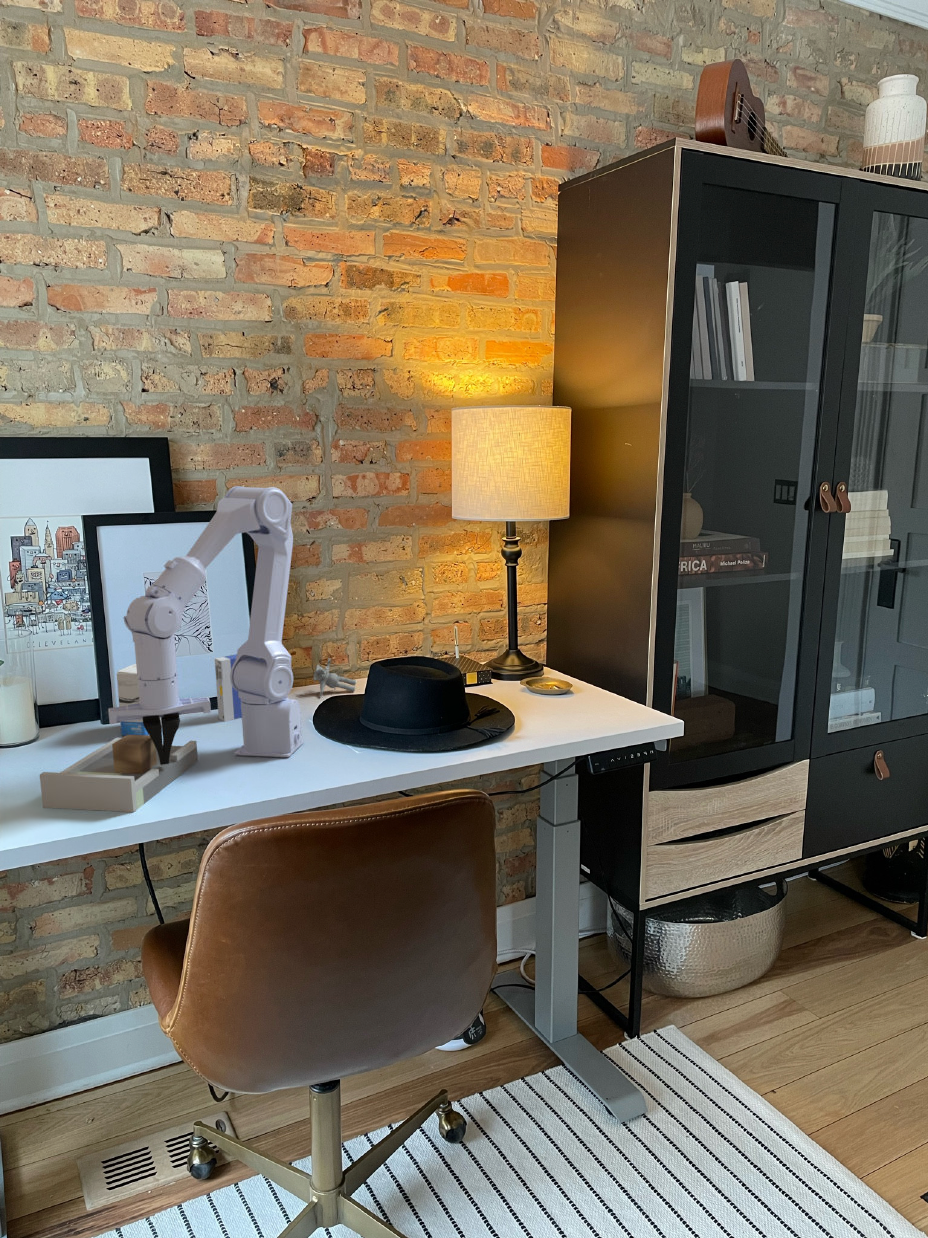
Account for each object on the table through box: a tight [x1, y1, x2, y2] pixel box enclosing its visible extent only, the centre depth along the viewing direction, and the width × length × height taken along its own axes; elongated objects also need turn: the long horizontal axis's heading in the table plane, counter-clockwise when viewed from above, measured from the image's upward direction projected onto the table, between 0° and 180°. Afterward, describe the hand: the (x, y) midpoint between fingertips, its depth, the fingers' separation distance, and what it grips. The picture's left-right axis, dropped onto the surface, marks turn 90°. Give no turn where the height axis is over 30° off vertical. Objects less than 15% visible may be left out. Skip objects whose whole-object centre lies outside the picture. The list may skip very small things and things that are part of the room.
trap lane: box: [38, 737, 199, 813], centre depth 142 cm, size 14×21×5 cm, turn 171°
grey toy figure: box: [313, 657, 358, 699], centre depth 191 cm, size 10×6×9 cm
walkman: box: [214, 653, 242, 722], centre depth 175 cm, size 8×3×12 cm, turn 133°
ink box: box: [116, 663, 162, 736], centre depth 167 cm, size 8×5×12 cm, turn 168°
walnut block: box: [112, 734, 157, 774], centre depth 141 cm, size 4×4×4 cm
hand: (164, 762), depth 141 cm, fingers closed
